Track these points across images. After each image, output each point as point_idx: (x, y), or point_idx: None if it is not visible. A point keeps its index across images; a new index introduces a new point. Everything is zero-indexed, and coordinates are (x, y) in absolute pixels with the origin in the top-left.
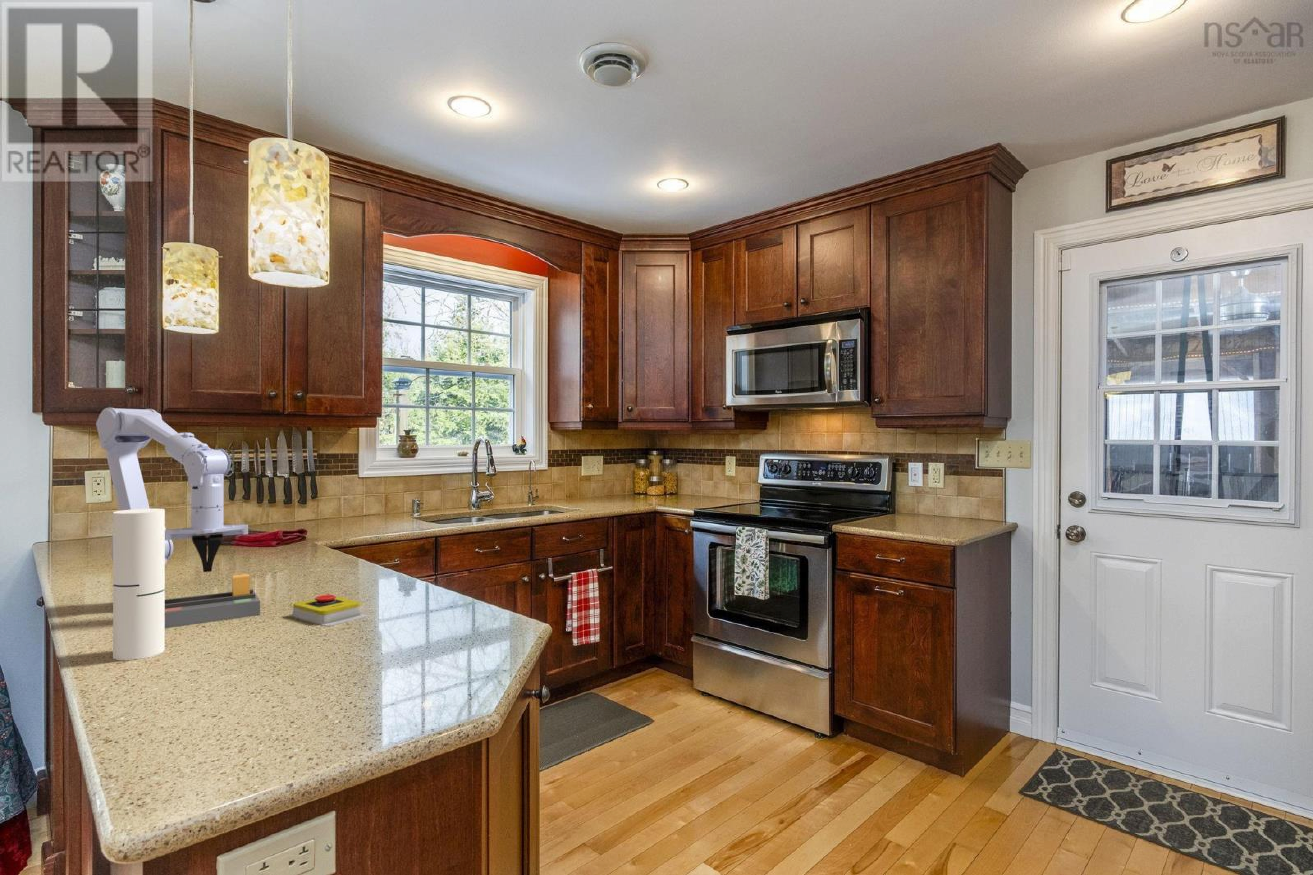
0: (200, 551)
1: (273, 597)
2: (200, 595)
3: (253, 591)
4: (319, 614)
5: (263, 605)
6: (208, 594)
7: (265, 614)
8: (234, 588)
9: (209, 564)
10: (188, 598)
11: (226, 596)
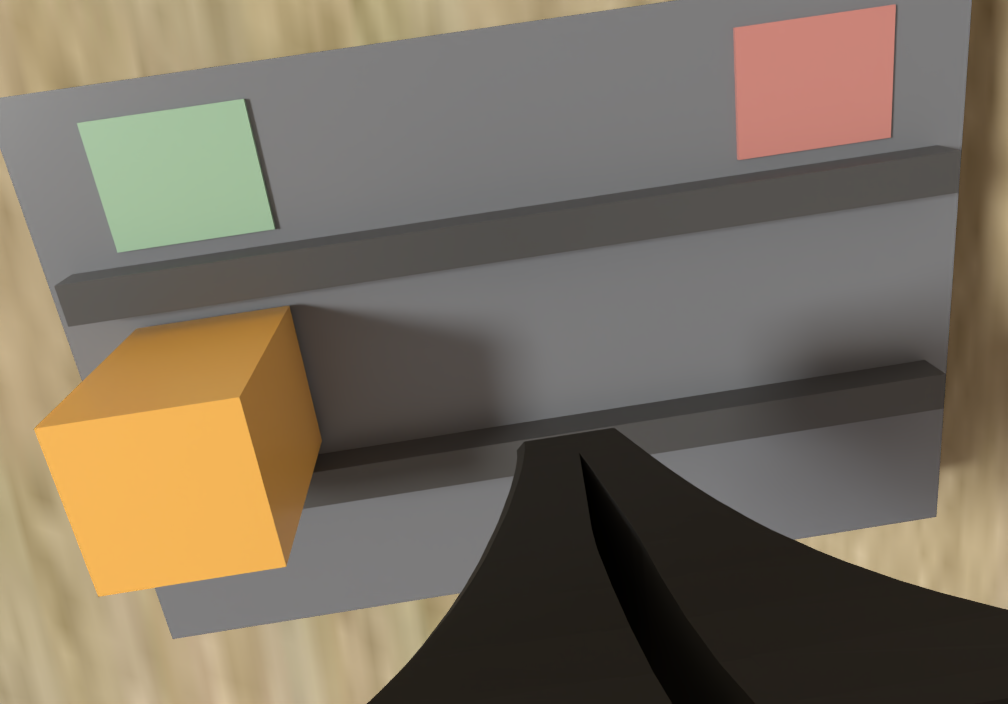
0: (815, 580)
1: (81, 683)
2: None
3: None
4: None
5: None
6: None
7: (7, 91)
8: (257, 346)
9: (559, 476)
10: (693, 407)
11: (373, 447)
